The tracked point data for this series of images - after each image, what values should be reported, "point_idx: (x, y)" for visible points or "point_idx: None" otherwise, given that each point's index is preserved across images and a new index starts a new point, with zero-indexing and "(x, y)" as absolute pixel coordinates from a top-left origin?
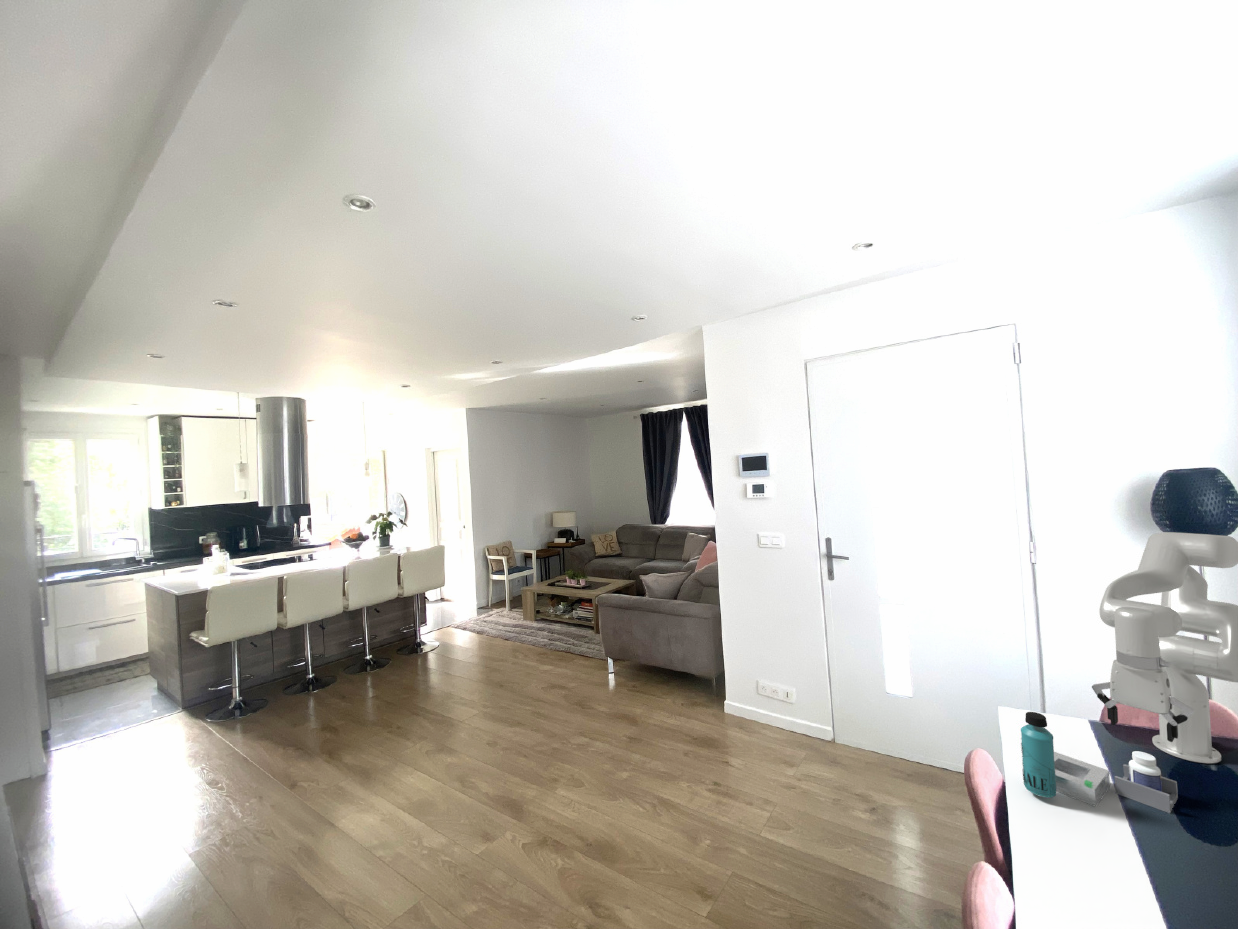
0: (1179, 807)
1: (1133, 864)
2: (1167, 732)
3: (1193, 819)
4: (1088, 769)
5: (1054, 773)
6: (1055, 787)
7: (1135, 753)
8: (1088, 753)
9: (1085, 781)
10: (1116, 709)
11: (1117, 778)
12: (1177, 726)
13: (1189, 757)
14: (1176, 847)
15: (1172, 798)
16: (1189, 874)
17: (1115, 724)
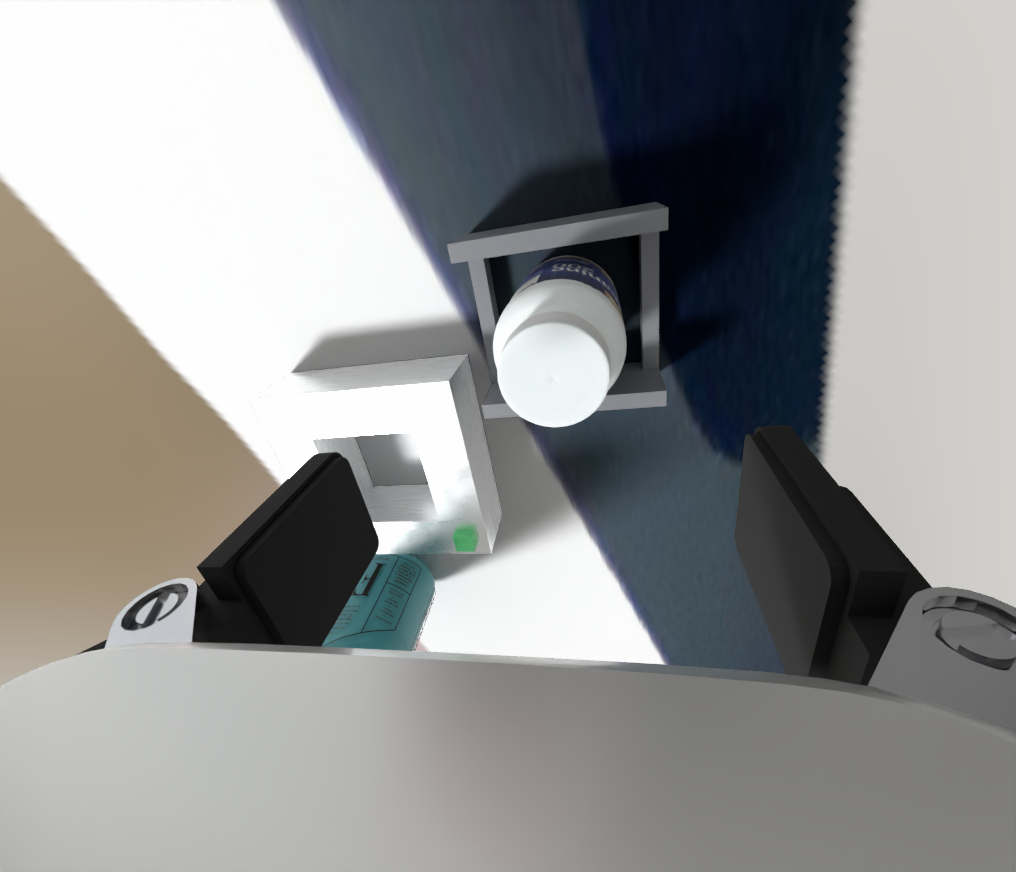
0: (673, 288)
1: (641, 658)
2: (766, 610)
3: (723, 343)
4: (406, 431)
5: (410, 641)
6: (426, 599)
7: (514, 388)
8: (255, 80)
9: (457, 548)
10: (274, 586)
11: (494, 416)
12: (921, 583)
13: None
14: (700, 545)
15: (652, 286)
16: (735, 622)
17: (373, 531)
